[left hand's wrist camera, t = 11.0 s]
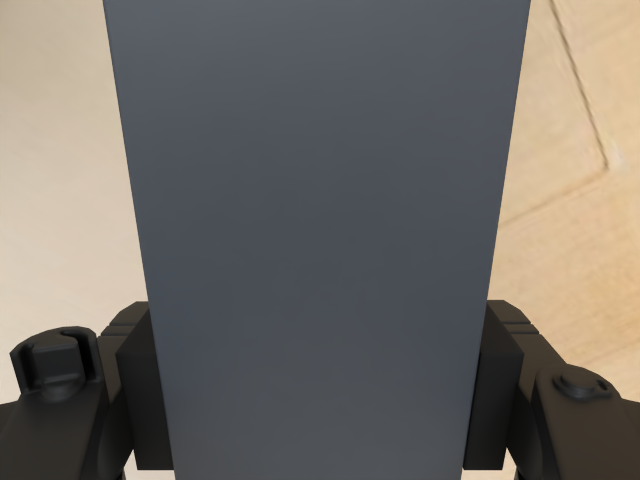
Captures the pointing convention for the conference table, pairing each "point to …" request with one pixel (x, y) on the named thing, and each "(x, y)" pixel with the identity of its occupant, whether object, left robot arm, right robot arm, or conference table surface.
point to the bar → (317, 223)
